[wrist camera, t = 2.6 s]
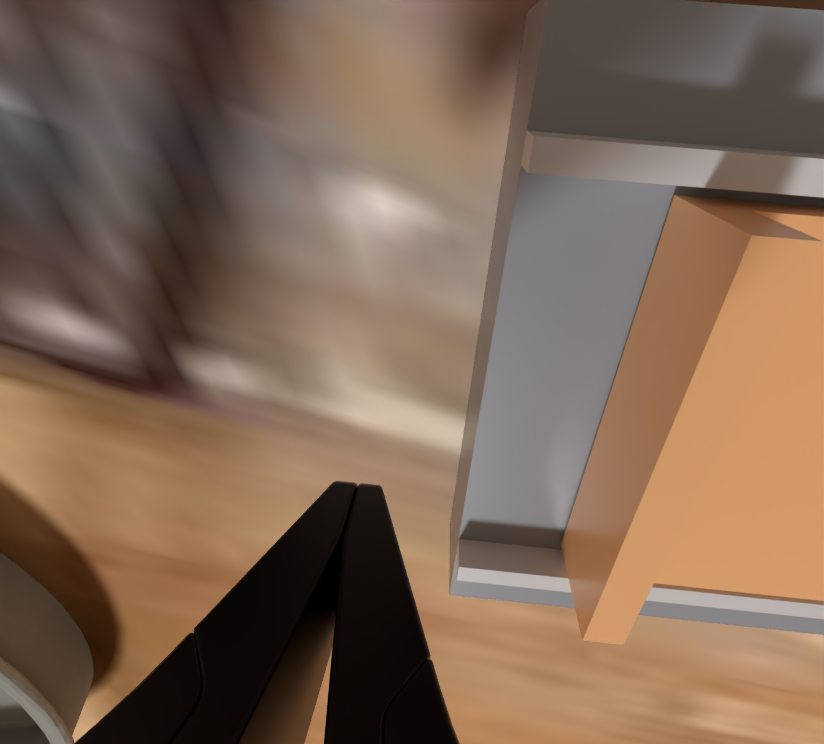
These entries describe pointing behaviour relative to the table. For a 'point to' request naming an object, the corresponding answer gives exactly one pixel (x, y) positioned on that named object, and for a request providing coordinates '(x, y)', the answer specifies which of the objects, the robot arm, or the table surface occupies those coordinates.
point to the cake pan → (39, 663)
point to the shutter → (710, 421)
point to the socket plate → (614, 256)
